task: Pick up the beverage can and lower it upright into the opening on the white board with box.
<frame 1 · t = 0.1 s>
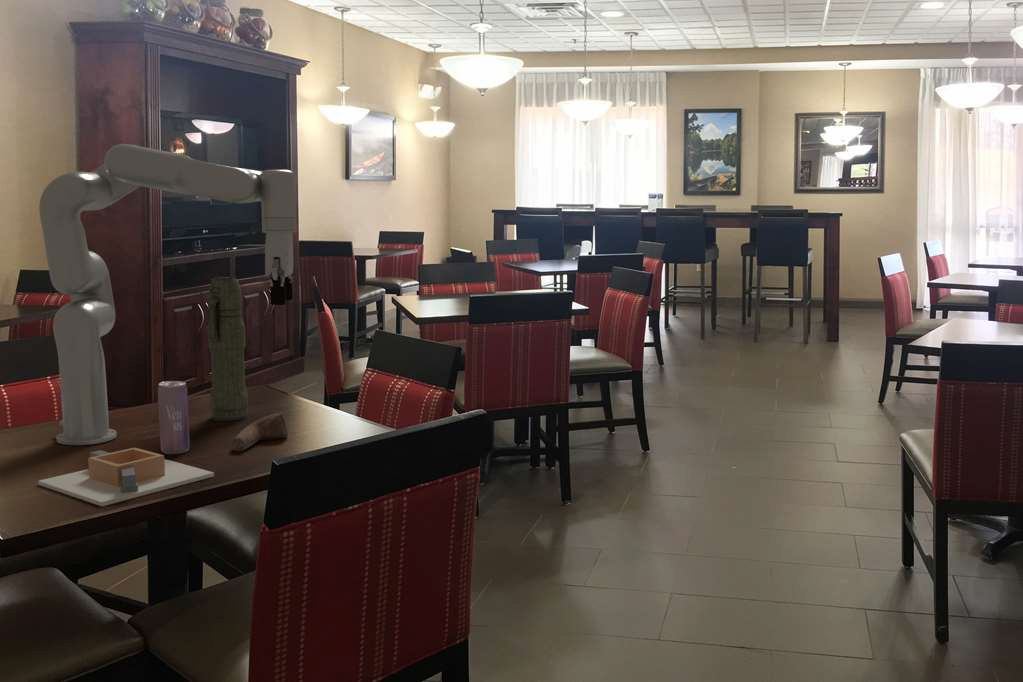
hand: (282, 302, 224), 31 cm above the table, tool pointing down, fingers open, 9 cm apart
beverage can: (175, 452, 217), on the table
pipe: (261, 445, 224), on the table
white board with box: (127, 480, 194), on the table
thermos: (229, 417, 249), on the table
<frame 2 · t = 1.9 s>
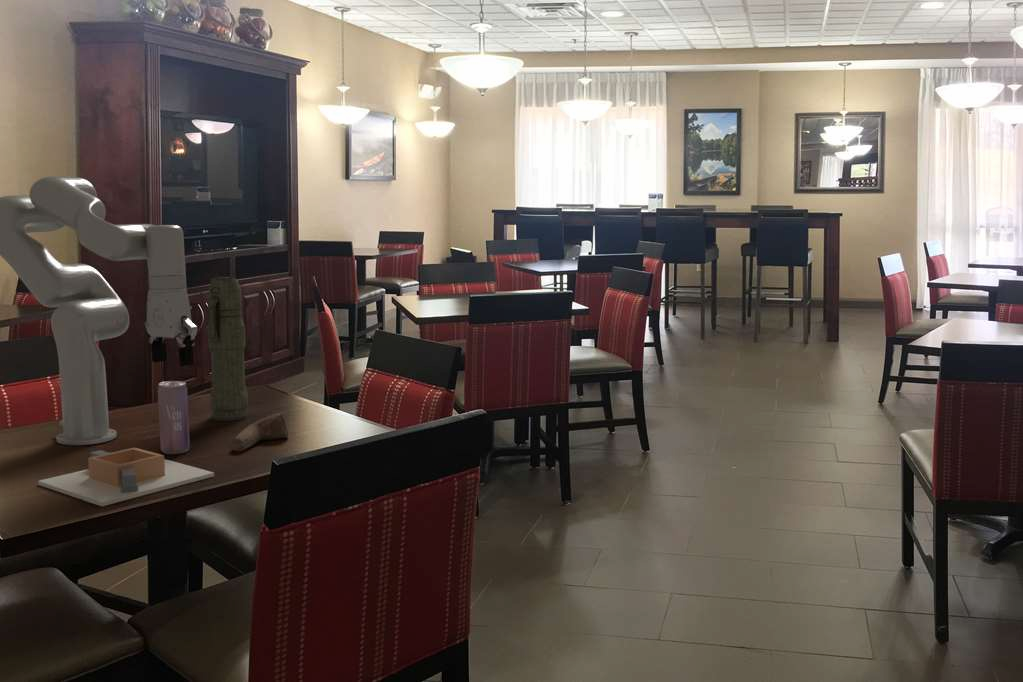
hand: (172, 363, 214), 19 cm above the table, tool pointing down, fingers open, 9 cm apart
nothing on the table moved.
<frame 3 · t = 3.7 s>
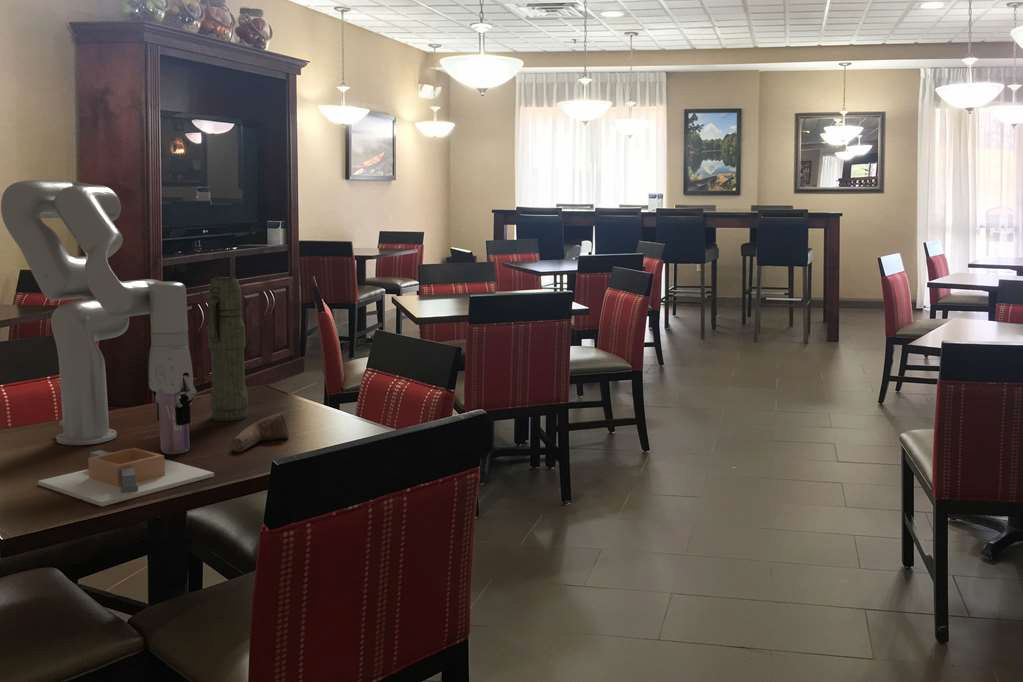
hand: (174, 421, 216), 7 cm above the table, tool pointing down, fingers closed on beverage can, 6 cm apart
beverage can: (175, 452, 217), on the table, touching gripper
everything else where it was.
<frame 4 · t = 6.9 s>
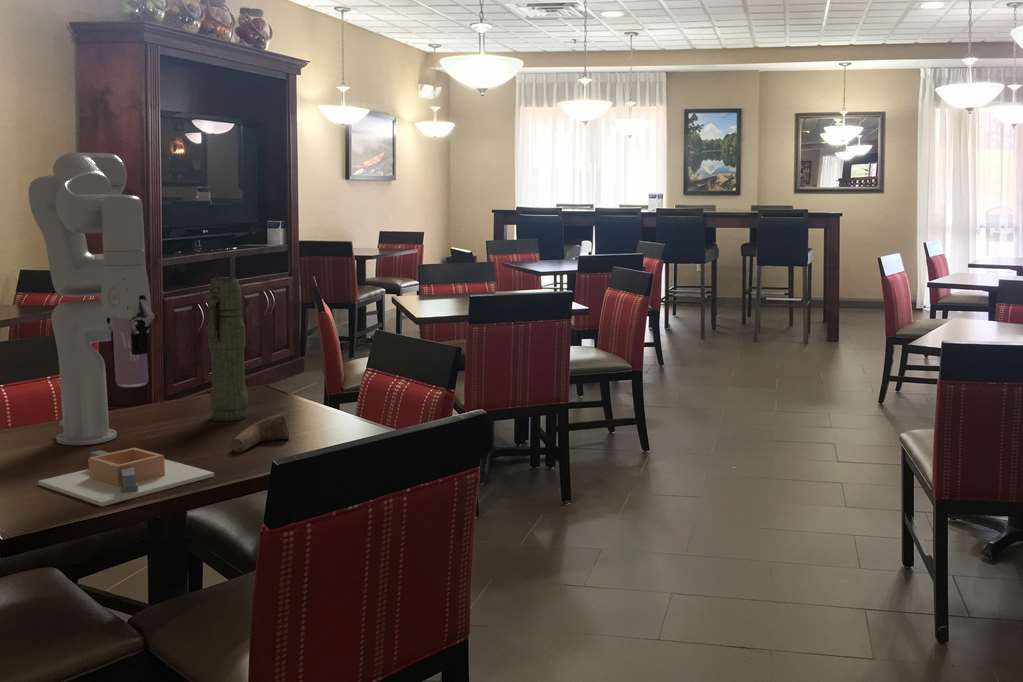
hand: (130, 351, 194), 25 cm above the table, tool pointing down, fingers closed on beverage can, 6 cm apart
beverage can: (132, 385, 195), point 18 cm above the table, touching gripper
everything else where it was.
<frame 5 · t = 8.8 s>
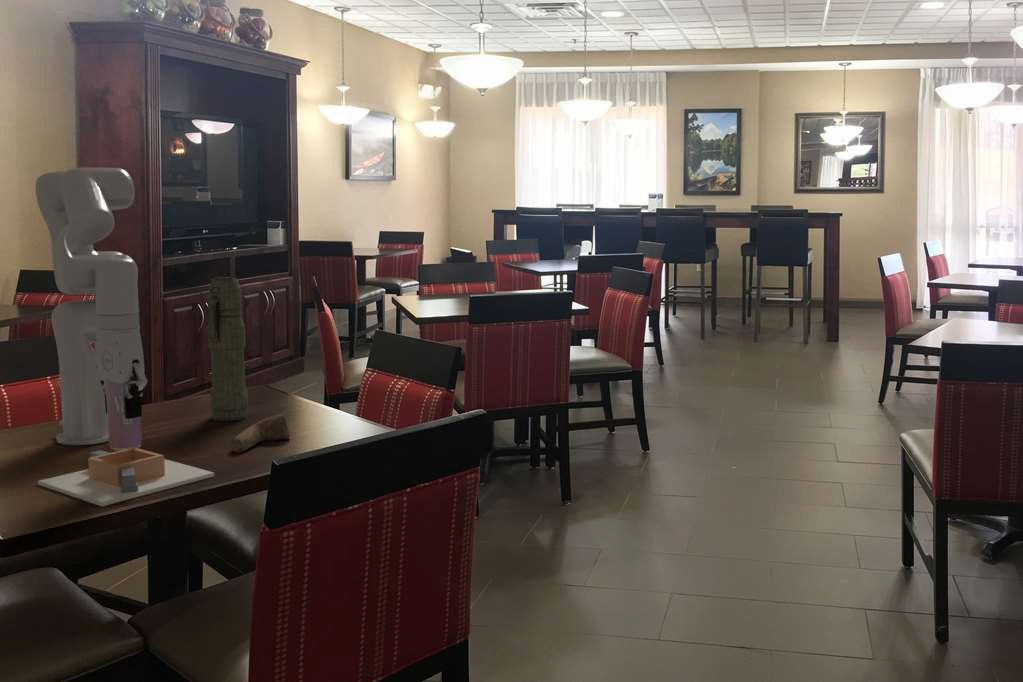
hand: (123, 414, 193), 13 cm above the table, tool pointing down, fingers closed on beverage can, 6 cm apart
beverage can: (125, 448, 194), point 6 cm above the table, touching gripper
when the fingers open (9 cm above the table, at t = 10.2 s): beverage can drops 1 cm, resting on white board with box.
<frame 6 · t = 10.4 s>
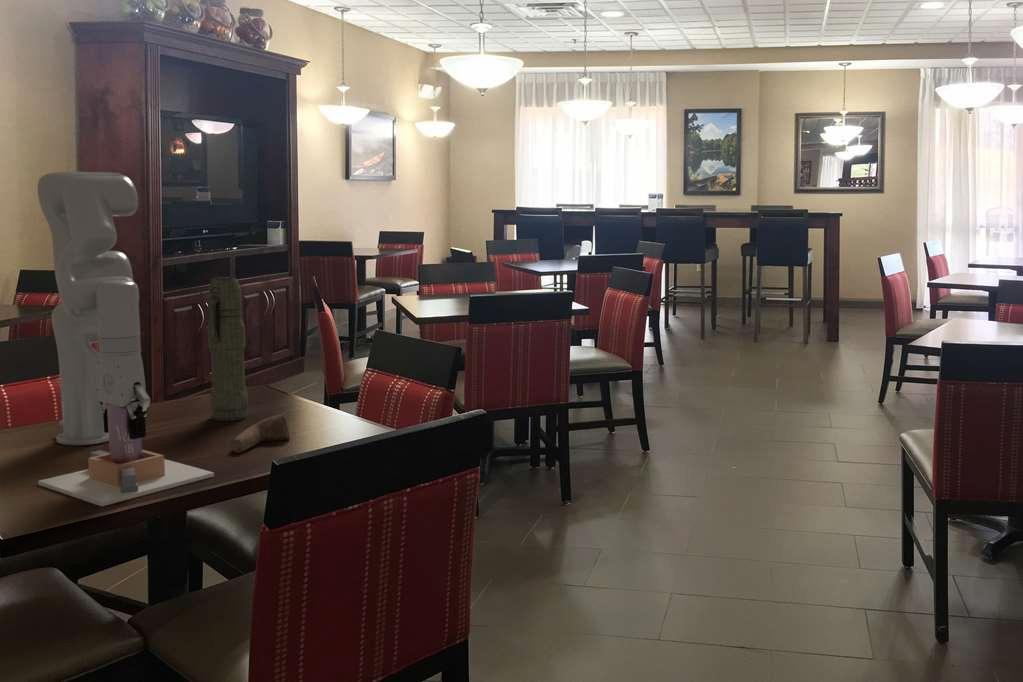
hand: (124, 434, 193), 9 cm above the table, tool pointing down, fingers open, 8 cm apart
beverage can: (127, 477, 195), point 1 cm above the table, touching white board with box
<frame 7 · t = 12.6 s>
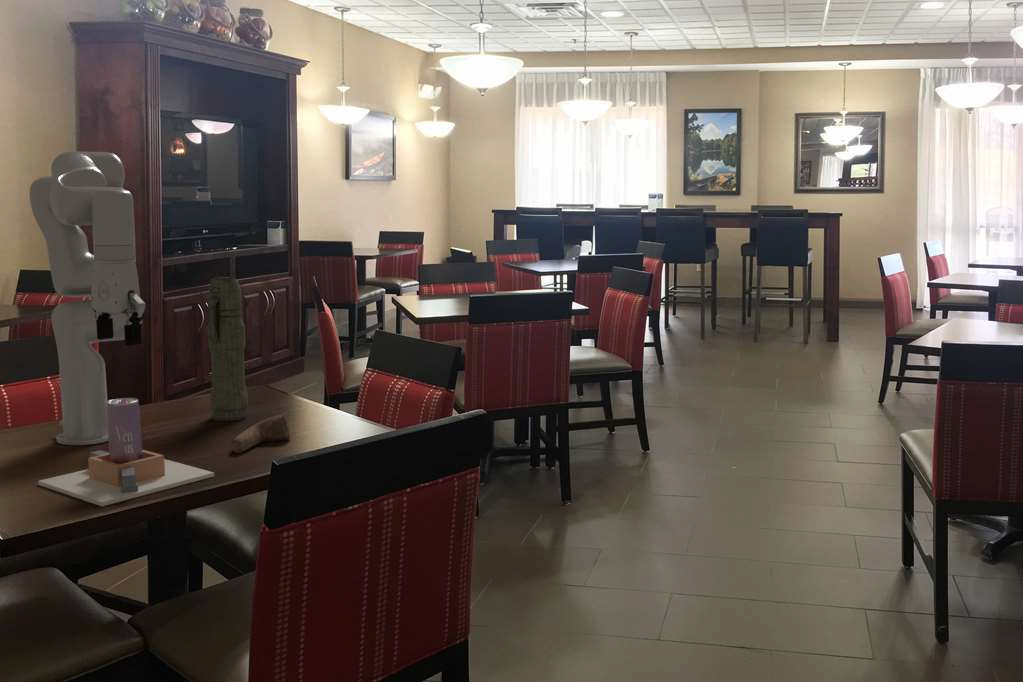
hand: (119, 341, 195), 27 cm above the table, tool pointing down, fingers open, 9 cm apart
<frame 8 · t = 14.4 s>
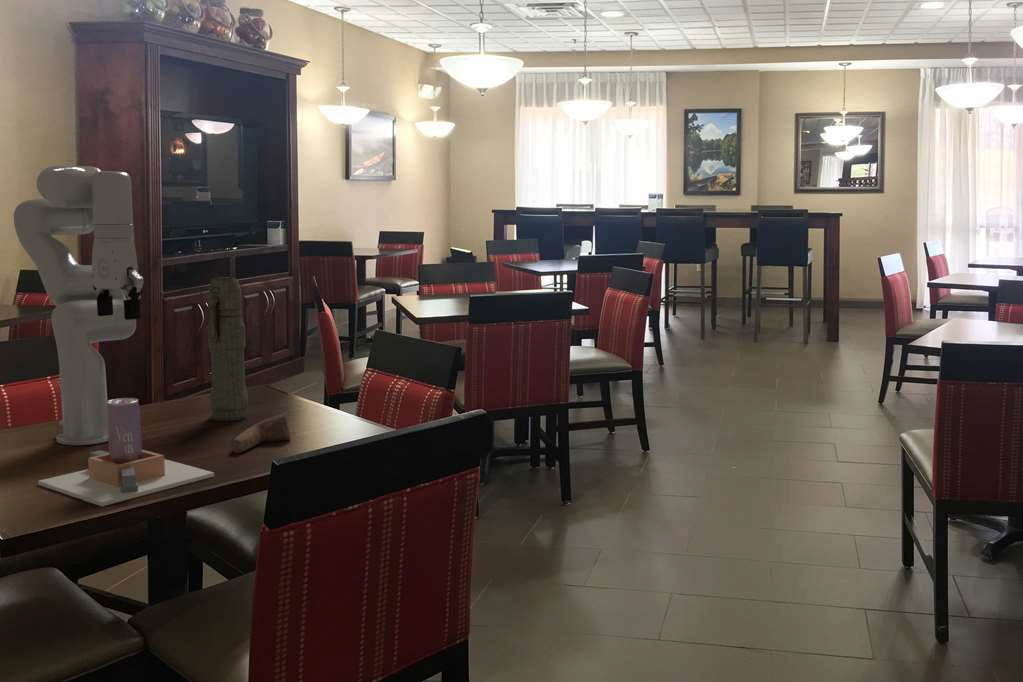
hand: (118, 317, 204), 30 cm above the table, tool pointing down, fingers open, 9 cm apart
at the end: beverage can 0.3 cm off-centre on the white board with box, point 0.6 cm above the white board with box's base; beverage can tilted 0°; the gripper is holding nothing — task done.
